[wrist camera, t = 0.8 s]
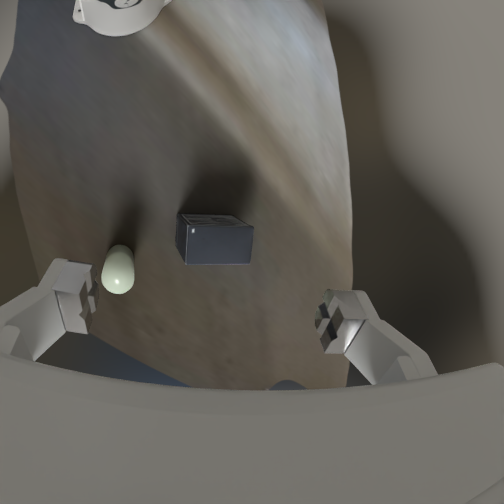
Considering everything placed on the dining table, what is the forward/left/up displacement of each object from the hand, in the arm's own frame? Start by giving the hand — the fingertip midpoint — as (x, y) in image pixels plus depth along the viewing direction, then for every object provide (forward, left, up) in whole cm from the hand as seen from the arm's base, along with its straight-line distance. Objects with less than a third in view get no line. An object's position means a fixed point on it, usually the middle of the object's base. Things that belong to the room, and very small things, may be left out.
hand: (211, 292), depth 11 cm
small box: (+10, +8, -45) cm, 46 cm away
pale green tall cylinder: (+10, -8, -44) cm, 46 cm away
